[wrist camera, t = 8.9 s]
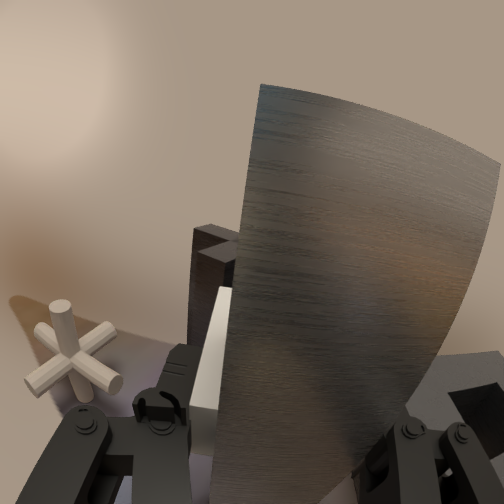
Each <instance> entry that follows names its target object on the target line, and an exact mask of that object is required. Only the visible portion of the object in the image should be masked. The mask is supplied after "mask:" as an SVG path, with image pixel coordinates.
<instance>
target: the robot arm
mask: <svg viewBox="0 0 504 504" xmlns="http://www.w3.org/2000/svg"><path fill="white" fill-rule="evenodd" d="M231 292H232V288H228V287H221V286H220V287H219V291H218V294H217V298H216V302H215V306H214V309H213V313H212V317H211V321H210V325H209V328H208V332H207V336H206V340H205V344H204V348H203V347H197V346H191V345H185V344H180V343H179V344H178V345H177V346H175V347H174V348H173V349H172V350H171V351H170V352H169V355H168V357H167V360H166V364H165V365H164V368H163V371H162V373H161V375H160V378H159V381H158V383H157V386H156V387H154V388H148V389H146V390H143V391H141V392H140V393H139V394H138V395H137V396H135V398H134V401H133V403H132V406H133V410H134V414H135V416H132V417H106V416H105V415H104V413H103V412H102V411H101V410H99V409H97V408H96V407H93V406H88V405H83V406H77V407H75V408H73V409H71V410H70V411H69V412H68V413H67V414H66V415H65V417H64V418H63V420H62V421H61V423H60V425H59V426H58V428H57V430H56V431H55V433H54V435H53V436H52V438H51V440H50V442H49V443H48V445H47V446H46V448H45V450H44V451H43V453H42V455H41V457H40V459H39V460H38V462H37V464H36V465H35V467H34V469H33V471H32V473H31V475H30V476H29V478H28V480H27V482H26V484H25V486H24V488H23V490H22V491H21V493H20V495H19V497H18V500H17V501H16V503H15V504H114V502H115V499H116V496H117V494H118V491H119V488H120V485H121V483H122V480H123V478H124V476H132V504H192V496H191V485H190V473H189V456H190V450H191V453H195V454H201V455H207V456H213V453H214V443H215V433H216V424H217V414H218V405H219V395H220V386H221V377H222V368H223V359H224V351H225V342H226V334H227V325H228V317H229V309H230V301H231ZM448 469H451V471H452V474H451V475H450V476H448V475H446V473H445V472H446V471H447V470H448ZM359 473H360V475H359V477H358V479H360V485H359V504H504V488H503V486H502V484H501V482H500V479H499V477H498V475H497V473H496V471H495V469H494V467H493V466H492V464H491V462H490V460H489V458H488V456H487V454H486V452H485V451H484V449H483V447H482V445H481V443H480V442H479V440H478V438H477V436H476V435H475V433H474V431H473V430H472V429H471V427H470V426H468V425H467V424H465V423H462V422H454V423H453V424H451V425H450V426H449V427H448V428H447V429H446V430H445V431H441V430H431V429H427V427H426V425H425V424H424V423H423V422H422V421H421V420H419V419H418V418H416V417H412V416H410V415H409V413H408V410H407V408H406V406H404V408H403V409H402V410H401V412H400V413H399V415H398V416H397V417H396V419H395V420H394V421H393V423H392V424H391V425H390V427H389V428H388V429H387V431H386V432H385V433H384V434H383V436H382V437H381V438H380V439H379V440H378V442H377V443H376V444H375V445H374V446H373V448H372V449H371V450H370V451H369V452H368V453H367V455H366V456H365V460H364V461H363V462H362V463H361V464H360V465H359V466H358V467H357V468H356V469H355V470H354V472H353V473H352V476H351V478H355V477H356V476H357V475H358V474H359Z"/></svg>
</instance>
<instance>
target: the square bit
mask: <svg viewBox="0 0 504 504" xmlns="http://www.w3.org/2000/svg"><path fill="white" fill-rule="evenodd" d="M500 165H501V164H500V163H498V162H497V161H495V160H493V159H491V158H489V157H487V156H486V155H484V154H482V153H480V152H478V151H476V150H474V149H472V148H471V147H468V146H467V145H464V144H462V143H460V142H458V141H456V140H454V139H452V138H450V137H447V136H445V135H443V134H441V133H439V132H436V131H434V130H431V129H429V128H427V127H424V126H422V125H419V124H417V123H414V122H411V121H409V120H406V119H403V118H400V117H397V116H395V115H392V114H389V113H386V112H383V111H380V110H376V109H373V108H370V107H366V106H363V105H360V104H356V103H353V102H349V101H345V100H341V99H337V98H333V97H329V96H325V95H321V94H316V93H311V92H306V91H301V90H296V89H291V88H284V87H279V86H272V85H265V84H261V85H260V91H259V98H258V104H257V110H256V117H255V124H254V131H253V137H252V144H251V151H250V158H249V165H248V172H247V180H246V186H245V194H244V201H243V208H242V216H241V224H240V230H239V238H238V245H237V253H236V261H235V269H234V276H233V284H232V292H231V301H230V309H229V317H228V325H227V334H226V342H225V351H224V359H223V368H222V377H221V386H220V395H219V405H218V414H217V424H216V433H215V443H214V453H213V464H212V474H211V485H210V496H209V504H317V503H319V502H320V501H321V500H322V499H323V498H324V497H325V496H326V495H328V494H329V493H330V492H331V491H332V490H333V489H334V488H335V487H336V486H337V485H338V484H339V483H340V482H341V481H342V480H343V479H344V478H345V477H346V476H347V475H348V474H349V473H350V472H351V471H352V470H353V469H354V468H355V467H356V466H357V465H358V463H359V462H360V461H361V460H362V459H363V458H364V457H365V456H366V455H367V453H368V452H369V451H370V450H371V449H372V448H373V446H374V445H375V444H376V443H377V442H378V440H379V439H380V438H381V437H382V436H383V434H384V433H385V432H386V431H387V429H388V428H389V427H390V425H391V424H392V423H393V421H394V420H395V419H396V417H397V416H398V415H399V413H400V412H401V410H402V409H403V408H404V406H405V405H406V403H407V402H408V400H409V399H410V397H411V396H412V394H413V393H414V391H415V390H416V388H417V387H418V385H419V384H420V382H421V380H422V379H423V377H424V376H425V374H426V372H427V371H428V369H429V367H430V365H431V364H432V362H433V360H434V358H435V357H436V355H437V353H438V351H439V349H440V348H441V346H442V344H443V342H444V340H445V338H446V336H447V334H448V332H449V330H450V328H451V326H452V324H453V321H454V319H455V317H456V315H457V313H458V311H459V308H460V306H461V304H462V301H463V299H464V297H465V294H466V292H467V289H468V287H469V284H470V281H471V279H472V276H473V273H474V271H475V268H476V265H477V262H478V259H479V256H480V253H481V250H482V246H483V243H484V240H485V236H486V233H487V229H488V225H489V221H490V217H491V213H492V209H493V204H494V199H495V195H496V190H497V184H498V178H499V172H500Z"/></svg>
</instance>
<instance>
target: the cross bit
mask: <svg viewBox="0 0 504 504" xmlns="http://www.w3.org/2000/svg"><path fill="white" fill-rule="evenodd" d="M238 238H239V233H238V232H235V231H232V230H228V229H226V228H222V227H219V226H216V225H213V224H209V225H204V226H200V227H196V228H194V232H193V243H192V255H191V269H190V284H189V302H188V325H187V345H191V346H197V347H203V348H204V344H205V340H206V336H207V332H208V328H209V325H210V321H211V317H212V313H213V309H214V306H215V302H216V298H217V294H218V291H219V287H220V286H221V287H228V288H232V284H233V276H234V269H235V261H236V253H237V245H238Z"/></svg>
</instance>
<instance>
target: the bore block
mask: <svg viewBox="0 0 504 504" xmlns="http://www.w3.org/2000/svg"><path fill="white" fill-rule="evenodd" d="M405 406H406V408H407V410H408V413H409V415H410V416H412V417H416V418H418V419H419V420H421V421H422V422H423V423H424V424H425V425H426V427H427V429H431V430H441V431H445V430H446V429H447V428H448V427H449V426H450V425H451V424H453V423H454V422H462V423H465V424H467V425H468V426H470V427H471V429H472V430H473V431H474V433H475V435H476V436H477V438H478V440H479V442H480V443H481V445H482V447H483V449H484V451H485V452H486V454H487V456H488V458H489V460H490V462H491V464H492V466H493V467H494V469H495V471H496V473H497V475H498V477H499V479H500V482H501V484H502V486H503V488H504V357H503V356H502V355H501V354H500V353H499V351H490V352H481V353H471V354H459V355H458V354H457V355H441V356H436V357H435V358H434V360H433V362H432V364H431V365H430V367H429V369H428V371H427V372H426V374H425V376H424V377H423V379H422V380H421V382H420V384H419V385H418V387H417V388H416V390H415V391H414V393H413V394H412V396H411V397H410V399H409V400H408V402H407V403H406V405H405ZM364 460H365V457H364V458H363V459H362V460H361V461H360V462H359V463H358V465H357V466H356V467H355V468H354V469H353V470H352V473H353V472H354V470H355V469H356V468H357V467H358V466H359V465H360V464H361V463H362V462H363V461H364ZM445 473H446V475H448V476H450V475H451V474H452V471H451V469H448V470H447V471H446V472H445ZM359 475H360V473H359V474H358V475H357V476H356V477H355V478H353V479H354V484H355V489H356V494H357V499H358V504H359V485H360V479H358V477H359Z"/></svg>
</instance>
